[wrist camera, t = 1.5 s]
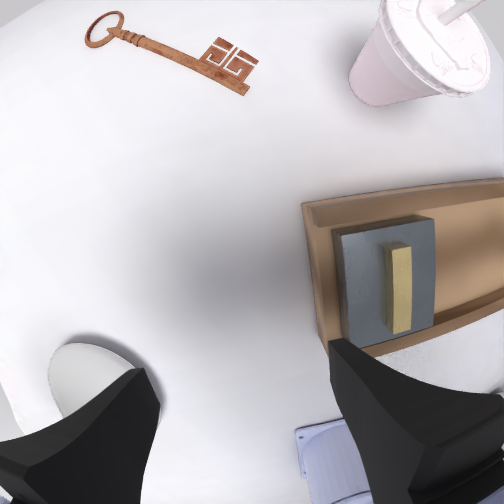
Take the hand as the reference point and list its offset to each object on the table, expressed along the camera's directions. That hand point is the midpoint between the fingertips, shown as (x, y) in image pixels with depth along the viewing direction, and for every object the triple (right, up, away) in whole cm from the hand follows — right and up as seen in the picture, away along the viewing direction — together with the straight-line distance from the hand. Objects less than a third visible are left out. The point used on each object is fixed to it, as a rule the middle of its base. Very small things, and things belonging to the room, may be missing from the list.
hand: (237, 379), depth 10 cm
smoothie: (+9, +17, +7) cm, 21 cm away
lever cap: (+9, +3, +7) cm, 12 cm away
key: (-6, +20, +7) cm, 22 cm away
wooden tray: (+15, +5, +10) cm, 18 cm away
